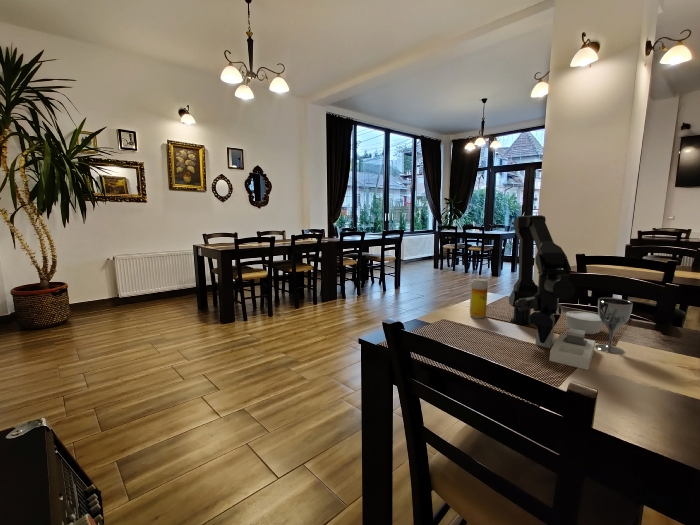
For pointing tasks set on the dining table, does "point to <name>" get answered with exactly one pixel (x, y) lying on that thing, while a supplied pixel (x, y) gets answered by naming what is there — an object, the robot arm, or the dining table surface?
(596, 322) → the ramekin
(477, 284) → the yellow bottle
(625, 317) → the wine glass
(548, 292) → the robot arm
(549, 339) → the plug
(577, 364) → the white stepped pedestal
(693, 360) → the dining table surface
